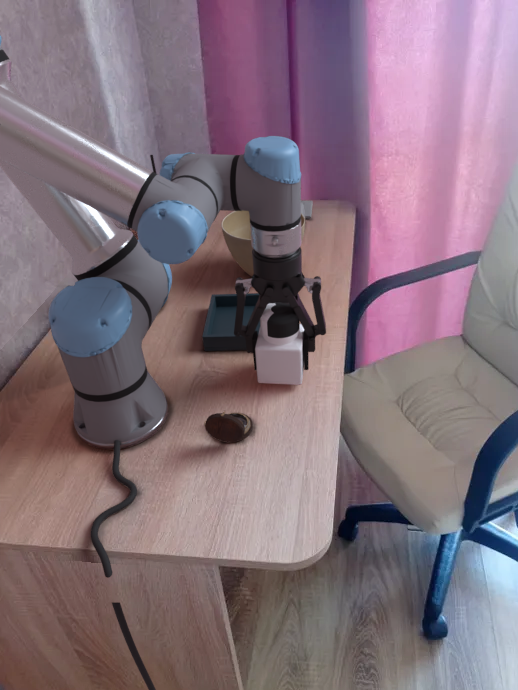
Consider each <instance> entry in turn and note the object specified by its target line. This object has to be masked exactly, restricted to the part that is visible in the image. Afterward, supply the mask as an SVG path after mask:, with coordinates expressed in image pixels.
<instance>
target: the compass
mask: <svg viewBox="0 0 518 690" xmlns="http://www.w3.org/2000/svg"><path fill="white" fill-rule="evenodd" d="M203 425H204V428H205V431H206V432H207V434H208V435H209V436H211V437H212V438H213V439H215V440H217V441H220V442H224V443H237V442H240V441H242V440H245V439H247V438H248V437H249V436H250V435H251V434H252V432H253V429H254V423H253V420H252V418H251V417H250V416H249V415H247V414H245V413H242V412H229V413H226V411H225V410H223V412H216V413H212V414H210V415H209V416H208V417H207V418H206V420H205V421H204V422H203Z"/></svg>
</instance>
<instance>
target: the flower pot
mask: <svg viewBox="0 0 518 690" xmlns="http://www.w3.org/2000/svg"><path fill="white" fill-rule="evenodd" d="M220 224H221V232H222V236H223V239H224V241H225V245H226V247H227V249H228V251H229V253H230V255H231V256H232V258H233V260H235V262H236V264H237V265H238V266H239V267H240V268H241V269H242V270H243V271H244V272H245V273H246V274H247V275H249V276H250V277H252V276H253V274H254V272H253V258H252V250H253V247H252V245H251V230H250V215H249V211H231V212H230V213H229V214H227V215H226V216H224V218H222V221H221V223H220ZM305 229H306V218H305V217H304V216H303V215H302V213H301V246H302V244H303V241H304V236H305ZM301 246H300V247H301Z"/></svg>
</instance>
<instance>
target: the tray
mask: <svg viewBox="0 0 518 690" xmlns="http://www.w3.org/2000/svg"><path fill="white" fill-rule="evenodd" d="M237 299H238V298H237V295H236V293H220V294H219V293H218V294H217V293H216V294H215V293H214V294H211V296H210V301H209V305H208V309H207V314H206V318H205V322H204V327H203V332H202V336H201V338H202V344H203V345H202V346H203V350H204V352H218V351H220V352H222V351H225V352H226V351H247V350H246V339H245V337H243V336H241V335H240V336H235V335H234V327H235V317H236V308H237ZM258 299H259V294H258V292H254V293H253V292H252V293H251V292H250V293H247V294H246V297H245V306H244V314H243V323H242V325H244V326H246V325H247V324H248V322H249V319H250V317H251V315H252V312H253V310H254V308H255V306H256V303H257V301H258ZM288 303H289V302H288ZM268 304H269V302H268ZM259 329H260V321H259V323H258V325H257V327H256V329H255V331H257V332H258V334H259Z"/></svg>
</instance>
